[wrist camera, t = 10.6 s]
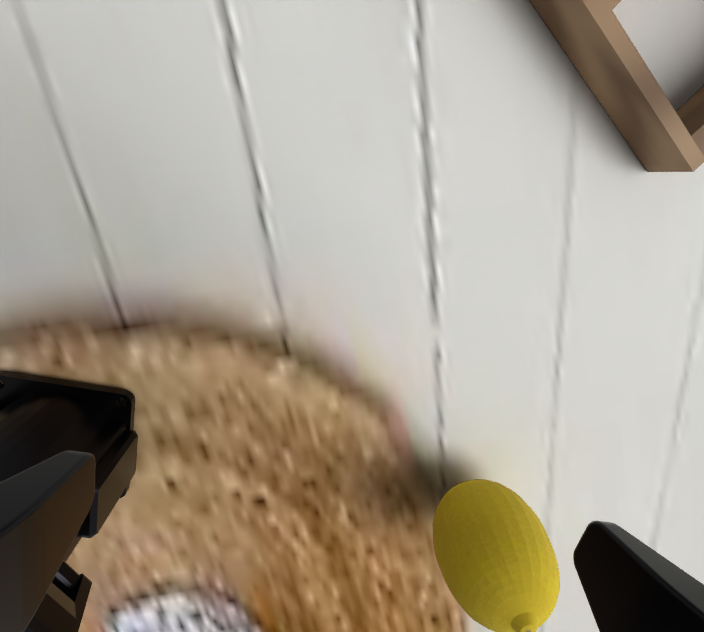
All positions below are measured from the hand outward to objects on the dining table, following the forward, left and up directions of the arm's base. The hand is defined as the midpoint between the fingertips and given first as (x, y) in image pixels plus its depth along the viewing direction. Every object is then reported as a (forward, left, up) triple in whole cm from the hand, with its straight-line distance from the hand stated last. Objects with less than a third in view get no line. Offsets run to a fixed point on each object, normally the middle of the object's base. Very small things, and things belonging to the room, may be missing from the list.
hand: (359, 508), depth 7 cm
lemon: (+10, -10, -13) cm, 19 cm away
